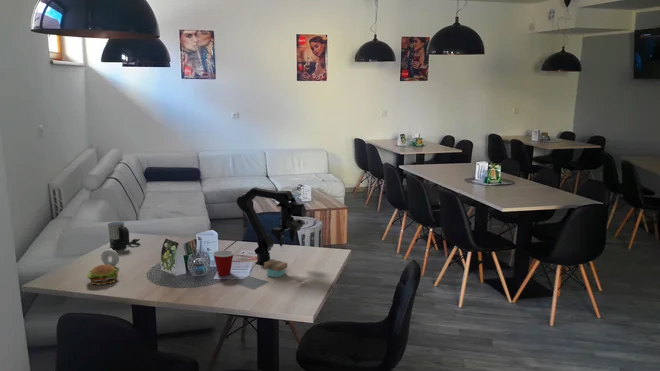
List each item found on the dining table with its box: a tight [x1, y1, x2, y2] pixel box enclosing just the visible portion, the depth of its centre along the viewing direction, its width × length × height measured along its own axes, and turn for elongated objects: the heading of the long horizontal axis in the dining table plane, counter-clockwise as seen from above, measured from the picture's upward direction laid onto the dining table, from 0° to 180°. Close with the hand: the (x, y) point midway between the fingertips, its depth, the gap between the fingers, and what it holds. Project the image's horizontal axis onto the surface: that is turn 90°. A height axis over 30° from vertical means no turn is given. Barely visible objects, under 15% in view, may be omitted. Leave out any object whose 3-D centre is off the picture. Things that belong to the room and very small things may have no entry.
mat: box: [233, 275, 269, 290], centre depth 240 cm, size 14×11×1 cm
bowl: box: [266, 268, 285, 278], centre depth 250 cm, size 8×8×4 cm
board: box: [263, 258, 288, 271], centre depth 249 cm, size 10×6×2 cm, turn 56°
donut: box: [100, 248, 120, 267], centre depth 262 cm, size 10×4×10 cm, turn 78°
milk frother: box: [107, 221, 141, 250], centre depth 296 cm, size 14×16×15 cm
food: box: [87, 264, 119, 286], centre depth 243 cm, size 14×14×8 cm
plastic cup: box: [212, 250, 235, 277], centre depth 250 cm, size 11×11×12 cm
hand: (286, 243), depth 260 cm, fingers open, 9 cm apart
